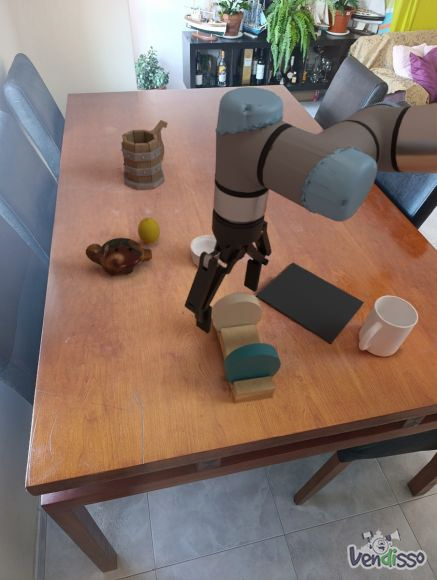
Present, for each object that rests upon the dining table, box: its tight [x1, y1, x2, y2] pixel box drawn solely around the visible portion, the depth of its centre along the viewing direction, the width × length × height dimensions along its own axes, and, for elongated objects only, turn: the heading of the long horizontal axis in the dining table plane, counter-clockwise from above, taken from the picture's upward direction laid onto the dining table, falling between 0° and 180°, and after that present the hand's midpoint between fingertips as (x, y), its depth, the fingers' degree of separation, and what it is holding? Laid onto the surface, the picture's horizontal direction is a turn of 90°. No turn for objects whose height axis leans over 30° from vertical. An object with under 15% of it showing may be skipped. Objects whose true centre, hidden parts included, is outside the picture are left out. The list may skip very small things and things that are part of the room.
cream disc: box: [211, 292, 263, 331], centre depth 74 cm, size 2×10×10 cm, turn 101°
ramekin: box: [189, 234, 223, 267], centre depth 94 cm, size 9×9×4 cm
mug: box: [358, 295, 419, 357], centre depth 76 cm, size 12×8×10 cm
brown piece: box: [85, 237, 153, 277], centre depth 89 cm, size 10×15×8 cm, turn 111°
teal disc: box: [222, 342, 282, 384], centre depth 66 cm, size 2×10×10 cm, turn 101°
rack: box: [215, 324, 276, 405], centre depth 74 cm, size 20×7×5 cm, turn 11°
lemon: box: [137, 217, 161, 245], centre depth 96 cm, size 6×6×8 cm
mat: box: [255, 262, 365, 345], centre depth 88 cm, size 20×16×1 cm
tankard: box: [120, 119, 168, 191], centre depth 118 cm, size 20×13×15 cm, turn 148°
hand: (228, 307), depth 69 cm, fingers open, 13 cm apart
